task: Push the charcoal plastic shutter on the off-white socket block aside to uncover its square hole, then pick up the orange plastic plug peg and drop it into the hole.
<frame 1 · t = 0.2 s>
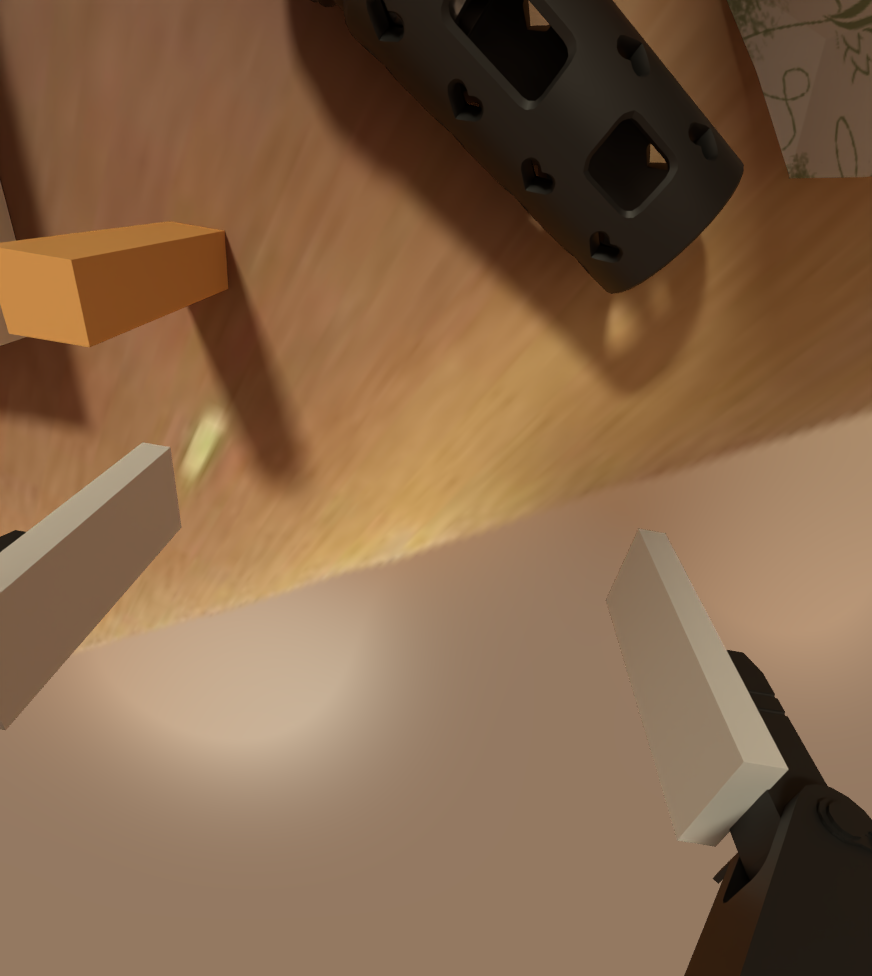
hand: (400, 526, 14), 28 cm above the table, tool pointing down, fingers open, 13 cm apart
muzzle brake: (490, 59, 31), on the table
plug peg: (199, 255, 38), on the table
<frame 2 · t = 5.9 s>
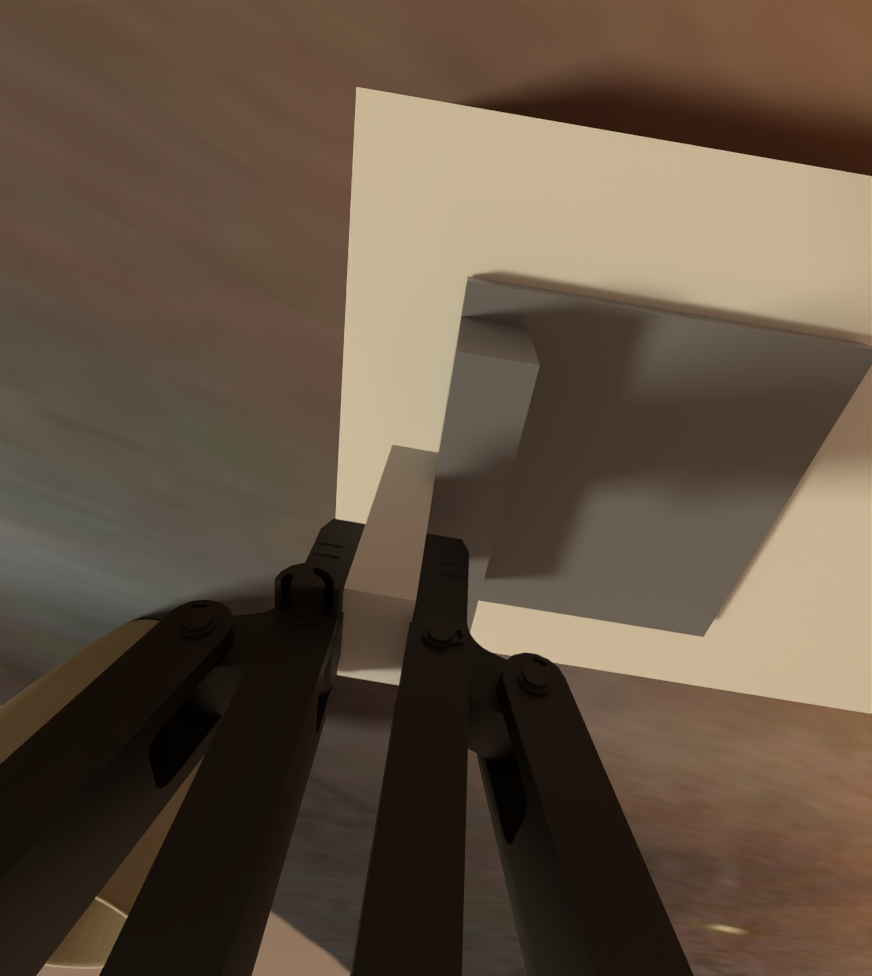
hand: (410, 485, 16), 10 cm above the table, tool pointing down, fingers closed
socket block: (694, 417, 25), on the table
shutter: (615, 513, 16), point 10 cm above the table, slide at 0.6 cm, touching gripper
plant pot: (168, 652, 38), on the table
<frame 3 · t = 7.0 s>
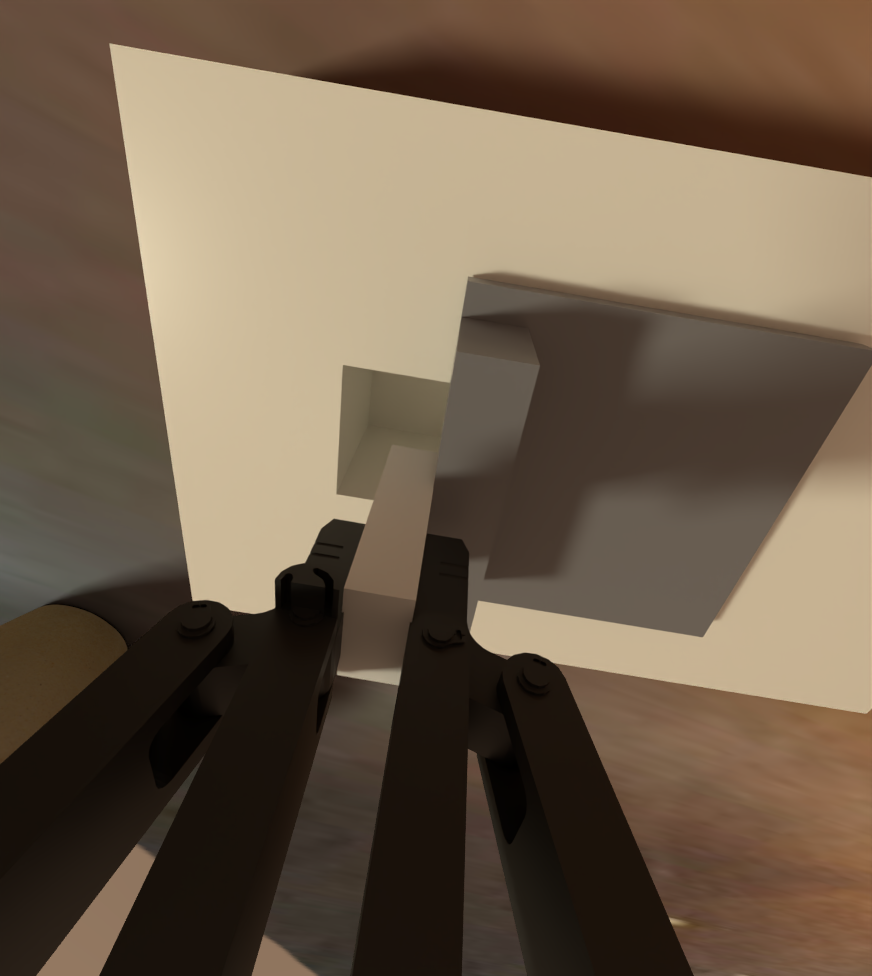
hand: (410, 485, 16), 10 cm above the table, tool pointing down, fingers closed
socket block: (568, 397, 25), on the table
shutter: (615, 513, 16), point 10 cm above the table, slide at 7.0 cm, touching gripper
plant pot: (83, 638, 38), on the table
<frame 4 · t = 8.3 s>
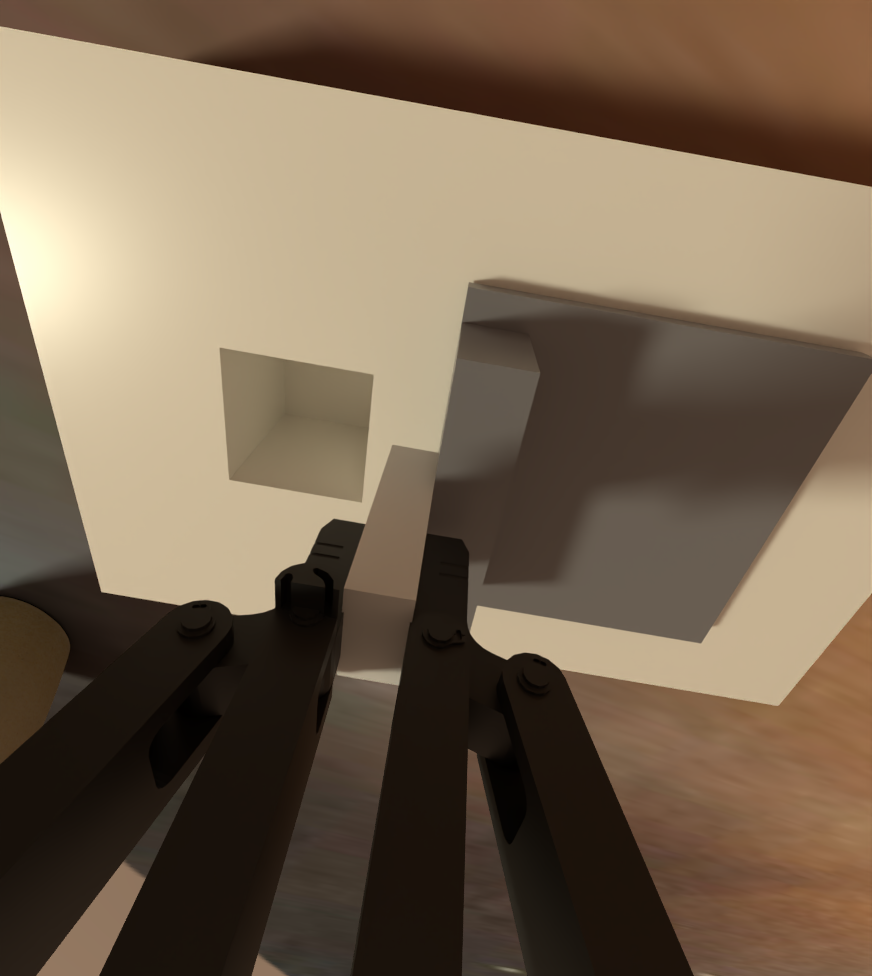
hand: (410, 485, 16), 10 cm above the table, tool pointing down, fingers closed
socket block: (485, 387, 25), on the table
shutter: (614, 520, 16), point 10 cm above the table, slide at 11.2 cm, touching gripper
plant pot: (24, 630, 38), on the table
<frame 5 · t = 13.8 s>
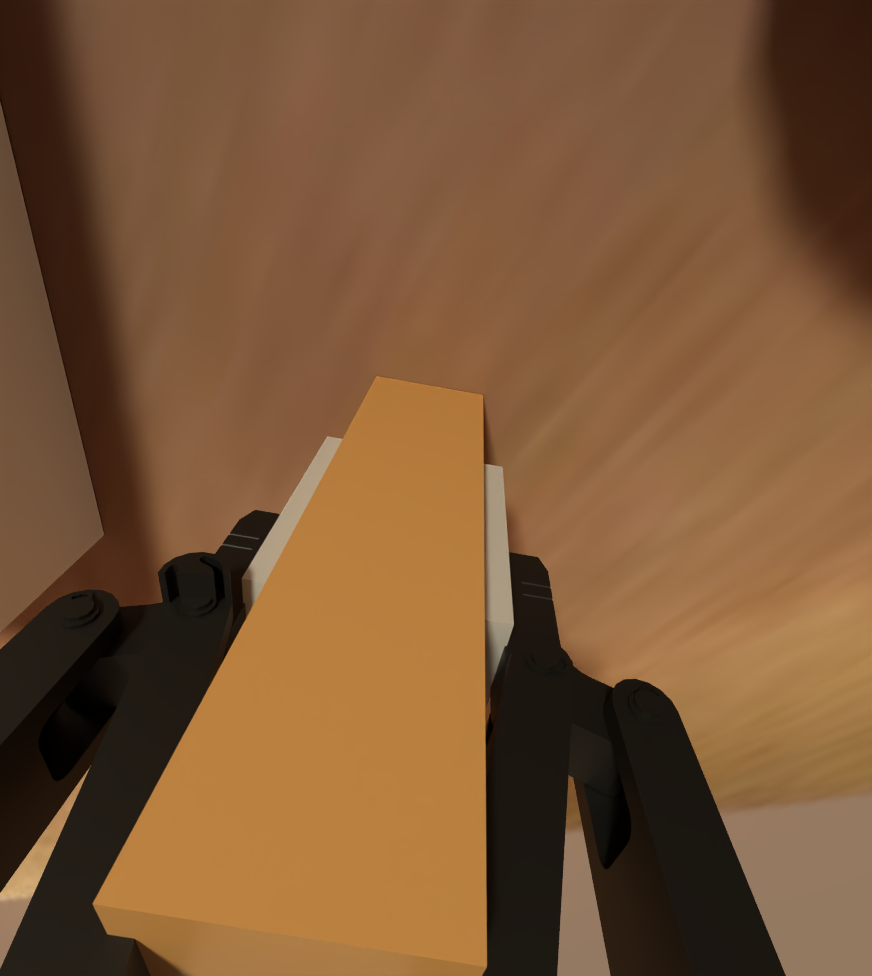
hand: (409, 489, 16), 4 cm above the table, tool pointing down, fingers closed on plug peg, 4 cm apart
plug peg: (422, 433, 20), on the table, touching gripper
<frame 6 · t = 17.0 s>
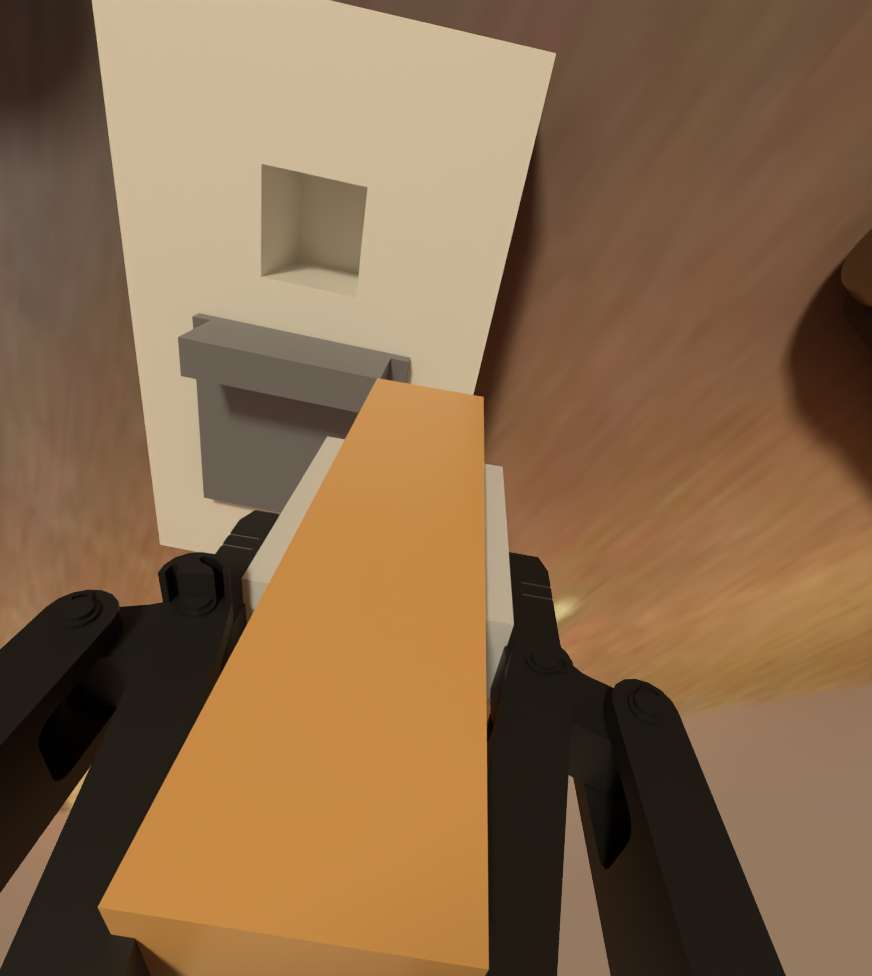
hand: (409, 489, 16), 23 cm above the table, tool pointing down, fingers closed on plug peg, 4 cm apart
socket block: (337, 330, 36), on the table
shutter: (289, 446, 30), point 10 cm above the table, slide at 11.2 cm
plug peg: (423, 435, 20), point 18 cm above the table, touching gripper
when the fingers open (10 cm above the table, at t = 20.3 s): plug peg drops 4 cm, resting on socket block.
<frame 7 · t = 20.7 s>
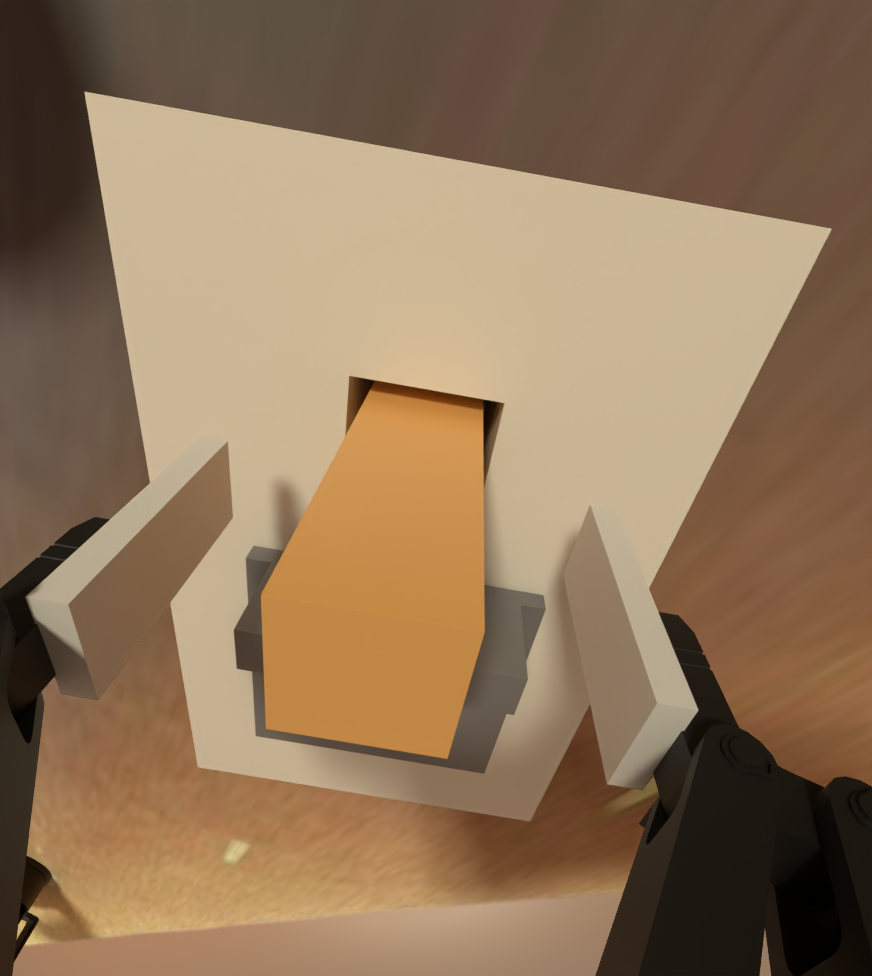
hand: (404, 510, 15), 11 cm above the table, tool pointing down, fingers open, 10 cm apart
socket block: (415, 499, 29), on the table
shutter: (376, 707, 22), point 10 cm above the table, slide at 11.2 cm
plug peg: (431, 394, 24), point 1 cm above the table, touching socket block
french press: (15, 866, 60), on the table
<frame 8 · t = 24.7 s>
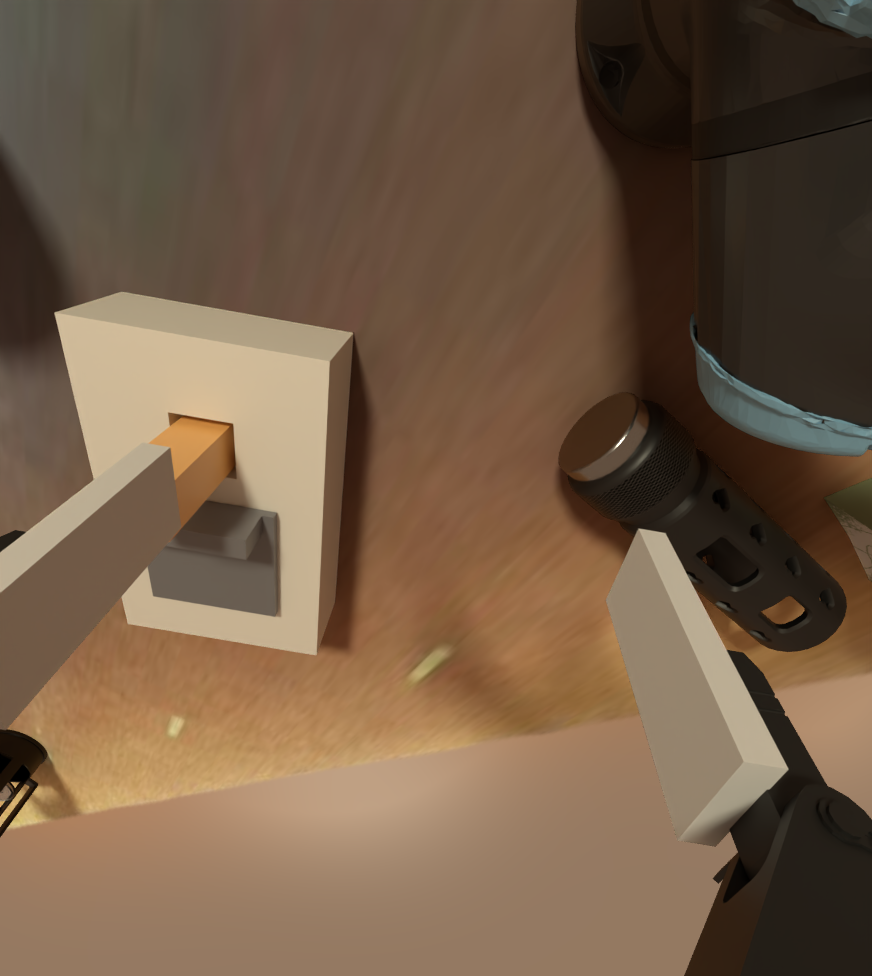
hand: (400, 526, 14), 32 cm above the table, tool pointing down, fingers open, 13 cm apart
socket block: (246, 472, 52), on the table
shutter: (202, 569, 45), point 10 cm above the table, slide at 11.2 cm
muzzle brake: (680, 493, 49), on the table
plug peg: (236, 416, 47), point 1 cm above the table, touching socket block
french press: (21, 747, 83), on the table
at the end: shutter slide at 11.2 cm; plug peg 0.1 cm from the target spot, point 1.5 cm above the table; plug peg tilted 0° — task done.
